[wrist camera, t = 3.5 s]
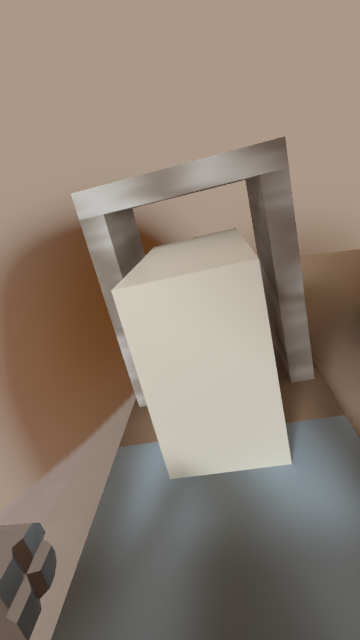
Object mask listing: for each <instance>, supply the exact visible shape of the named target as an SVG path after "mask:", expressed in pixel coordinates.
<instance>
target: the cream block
mask: <svg viewBox="0 0 360 640" xmlns="http://www.w3.org/2000/svg"><path fill="white" fill-rule="evenodd" d="M111 292H112V295H113V298H114V302H115V305H116V308H117V311H118V314H119V318H120V321H121V324H122V327H123V330H124V334H125V337H126V340H127V343H128V346H129V350H130V353H131V356H132V359H133V362H134V366H135V369H136V372H137V375H138V378H139V382H140V385H141V388H142V391H143V394H144V398H145V401H146V404H147V407H148V410H149V414H150V417H151V420H152V423H153V426H154V430H155V433H156V436H157V439H158V442H159V446H160V449H161V452H162V455H163V458H164V462H165V465H166V468H167V471H168V474H169V478H170V479H177V478H185V477H193V476H201V475H209V474H217V473H225V472H233V471H241V470H249V469H257V468H265V467H273V466H281V465H289V464H292V461H291V455H290V448H289V442H288V436H287V430H286V424H285V417H284V411H283V405H282V399H281V393H280V386H279V380H278V374H277V368H276V362H275V355H274V349H273V343H272V337H271V331H270V325H269V318H268V312H267V306H266V300H265V294H264V287H263V281H262V275H261V269H260V263H259V258H258V257H257V256H256V254H255V253H254V252H253V250H252V249H251V248H250V246H249V245H248V244H247V242H246V241H245V240H244V238H243V237H242V236H241V234H240V233H239V232H238V230H237V229H236V228H234V229H230V230H226V231H221V232H217V233H212V234H208V235H204V236H199V237H195V238H191V239H187V240H182V241H179V242H174V243H169V244H165V245H161V246H157V247H154V248H153V249H152V250H151V251H150V252H149V253H148V254H147V255H146V256H145V257H144V258H143V259H142V260H141V261H140V262H139V263H138V264H137V265H136V266H135V267H134V268H133V269H132V270H131V271H130V272H129V273H128V274H127V275H126V276H125V277H124V278H123V279H122V280H121V281H120V282H119V283H118V284H117V285H116V286H115V287H114V288H113V289H112V290H111Z"/></svg>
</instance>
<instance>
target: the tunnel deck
mask: <svg viewBox="0 0 360 640" xmlns="http://www.w3.org/2000/svg"><path fill="white" fill-rule="evenodd" d="M289 174H290V173H289V165H288V157H287V149H286V140H285V137H282V138H278V139H274V140H271V141H267V142H263V143H259V144H255V145H252V146H248V147H244V148H241V149H237V150H233V151H229V152H225V153H222V154H218V155H214V156H211V157H207V158H203V159H199V160H196V161H192V162H188V163H184V164H180V165H177V166H173V167H169V168H166V169H162V170H158V171H154V172H151V173H147V174H143V175H139V176H136V177H132V178H128V179H125V180H121V181H117V182H114V183H109V184H106V185H102V186H98V187H94V188H91V189H87V190H83V191H79V192H76V193H72V194H71V196H72V199H73V202H74V205H75V208H76V211H77V215H78V218H79V220H80V224H81V227H82V230H83V233H84V236H85V239H86V243H87V246H88V249H89V252H90V255H91V258H92V261H93V264H94V268H95V271H96V274H97V277H98V280H99V283H100V286H101V289H102V292H103V296H104V299H105V302H106V305H107V308H108V311H109V314H110V317H111V320H112V323H113V327H114V329H115V333H116V336H117V339H118V342H119V345H120V348H121V351H122V354H123V358H124V361H125V364H126V367H127V370H128V373H129V376H130V380H131V382H132V385H133V389H134V392H135V395H136V400H135V403H134V406H133V408H132V411H131V414H130V417H129V420H128V423H127V425H126V428H125V431H124V434H123V437H122V440H121V443H120V445H119V448H118V451H117V454H116V457H115V460H114V462H113V465H112V468H111V471H110V474H109V477H108V479H107V482H106V485H105V488H104V491H103V494H102V497H101V499H100V502H99V505H98V508H97V511H96V514H95V516H94V519H93V522H92V525H91V528H90V531H89V533H88V536H87V539H86V542H85V545H84V548H83V551H82V553H81V556H80V559H79V562H78V565H77V568H76V570H75V573H74V576H73V579H72V582H71V585H70V587H69V590H68V593H67V596H66V599H65V602H64V604H63V607H62V610H61V613H60V616H59V619H58V622H57V624H56V627H55V630H54V633H53V636H52V639H51V640H360V438H359V436H358V435H357V433H356V431H355V430H354V428H353V426H352V425H351V423H350V422H349V420H348V418H347V417H346V415H345V413H344V412H343V410H342V409H341V407H340V405H339V404H338V402H337V400H336V399H335V397H334V396H333V394H332V392H331V391H330V389H329V387H328V386H327V384H326V382H325V381H324V379H323V378H322V376H321V374H320V373H319V371H318V369H317V368H316V366H315V365H314V363H313V361H312V353H311V345H310V337H309V329H308V321H307V312H306V304H305V296H304V288H303V280H302V271H301V263H300V255H299V247H298V239H297V231H296V222H295V214H294V206H293V198H292V190H291V181H290V175H289ZM242 180H246V186H247V192H248V198H249V204H250V211H251V217H252V223H253V229H254V235H255V241H256V248H257V254H258V258H259V263H260V269H261V275H262V281H263V287H264V294H265V300H266V306H267V312H268V318H269V325H270V331H271V337H272V343H273V349H274V355H275V362H276V368H277V374H278V380H279V386H280V393H281V399H282V405H283V411H284V417H285V424H286V430H287V436H288V442H289V448H290V455H291V461H292V464H289V465H281V466H273V467H265V468H257V469H249V470H241V471H233V472H225V473H217V474H209V475H201V476H193V477H185V478H177V479H170V478H169V474H168V471H167V468H166V465H165V462H164V458H163V455H162V452H161V449H160V446H159V442H158V439H157V436H156V433H155V430H154V426H153V423H152V420H151V417H150V414H149V410H148V407H147V404H146V401H145V398H144V394H143V391H142V388H141V385H140V382H139V378H138V375H137V372H136V369H135V366H134V362H133V359H132V356H131V353H130V350H129V346H128V343H127V340H126V337H125V334H124V330H123V327H122V324H121V321H120V318H119V314H118V311H117V308H116V305H115V302H114V298H113V295H112V292H111V290H112V289H113V288H114V287H115V286H116V285H117V284H118V283H119V282H120V281H121V280H122V279H123V278H124V277H125V276H126V275H127V274H128V273H129V272H130V271H131V270H132V269H133V268H134V267H135V266H136V265H137V264H138V263H139V262H140V261H141V260H142V259H143V258H144V257H145V254H144V250H143V247H142V243H141V239H140V235H139V232H138V228H137V224H136V221H135V217H134V213H133V209H132V208H135V207H139V206H143V205H147V204H151V203H155V202H159V201H163V200H167V199H171V198H175V197H178V196H182V195H187V194H190V193H194V192H199V191H203V190H206V189H210V188H214V187H218V186H222V185H226V184H230V183H234V182H238V181H242Z"/></svg>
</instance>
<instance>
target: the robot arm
mask: <svg viewBox="0 0 360 640" xmlns="http://www.w3.org/2000/svg"><path fill="white" fill-rule="evenodd" d="M44 535H45V531H44V529H43V527H42V526H41V524H40V523H27V524H15V525H3V526H0V640H29V639H30V636H31V634H32V631H33V629H34V626H35V624H36V621H37V619H38V616H39V614H40V611H41V603H40V598H41V597H42V596H43V595H44V594H45V593H46V592H47V591H48V590H49V589H50V586H51V584H52V581H53V578H54V576H55V568H56V556H55V551H54V549H53V547H52V545H51V544H50V543H48V542H47V541H45V540H44V539H43V538H44Z"/></svg>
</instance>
